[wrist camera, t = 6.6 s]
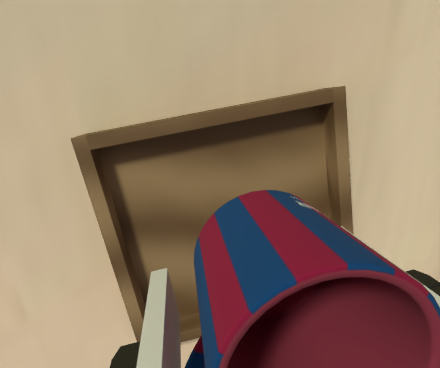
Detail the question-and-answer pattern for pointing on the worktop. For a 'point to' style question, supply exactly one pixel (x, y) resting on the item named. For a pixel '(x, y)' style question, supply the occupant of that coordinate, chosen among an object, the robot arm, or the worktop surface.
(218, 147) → the tray
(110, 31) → the worktop surface
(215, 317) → the mug
